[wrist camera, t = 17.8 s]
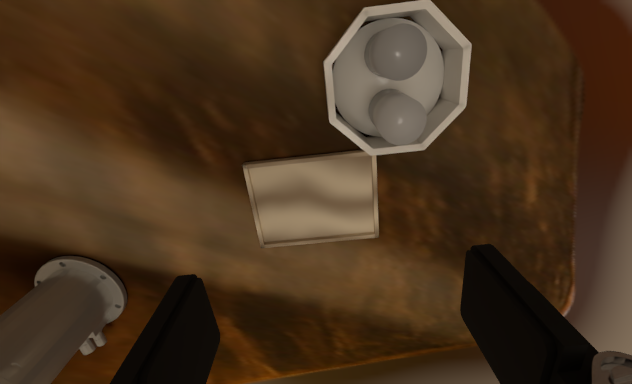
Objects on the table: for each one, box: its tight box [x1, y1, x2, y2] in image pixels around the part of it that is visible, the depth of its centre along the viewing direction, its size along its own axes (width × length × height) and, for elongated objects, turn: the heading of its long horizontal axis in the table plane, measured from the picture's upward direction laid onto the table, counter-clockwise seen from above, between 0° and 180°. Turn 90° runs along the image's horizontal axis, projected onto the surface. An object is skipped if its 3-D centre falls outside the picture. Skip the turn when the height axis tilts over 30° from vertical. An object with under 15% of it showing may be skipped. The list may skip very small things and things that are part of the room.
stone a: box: [368, 89, 427, 145], centre depth 31 cm, size 4×4×6 cm
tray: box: [242, 150, 379, 248], centre depth 39 cm, size 12×16×1 cm
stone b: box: [364, 23, 427, 81], centre depth 28 cm, size 4×4×6 cm
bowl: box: [323, 0, 472, 156], centre depth 31 cm, size 13×13×5 cm
